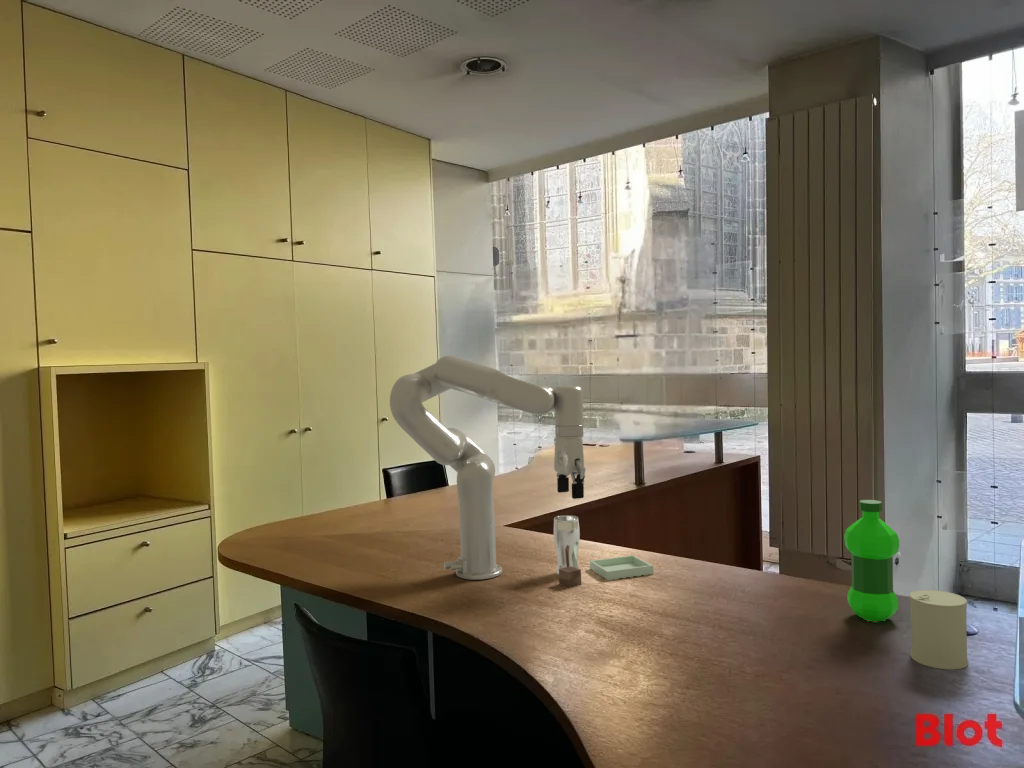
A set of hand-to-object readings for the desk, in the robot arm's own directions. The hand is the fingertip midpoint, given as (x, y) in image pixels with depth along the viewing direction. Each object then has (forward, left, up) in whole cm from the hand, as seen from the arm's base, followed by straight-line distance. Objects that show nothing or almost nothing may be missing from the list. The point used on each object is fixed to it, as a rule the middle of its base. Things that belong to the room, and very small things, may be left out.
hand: (570, 495), depth 197 cm
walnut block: (-5, -10, -21) cm, 24 cm away
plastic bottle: (+45, -58, -21) cm, 76 cm away
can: (+40, -79, -21) cm, 91 cm away
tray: (+12, -6, -21) cm, 25 cm away
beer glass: (-2, -1, -21) cm, 21 cm away
